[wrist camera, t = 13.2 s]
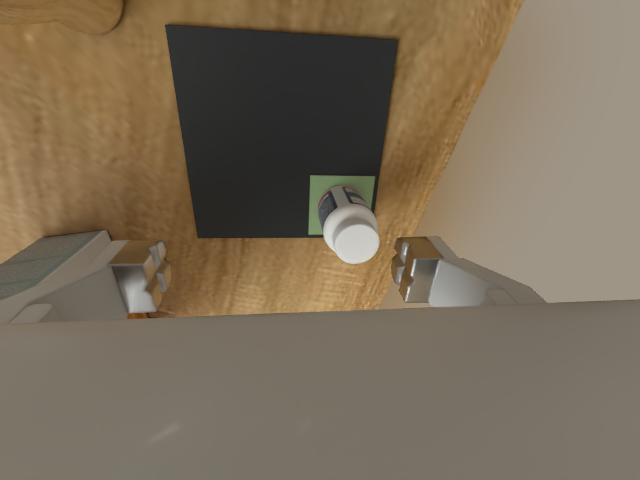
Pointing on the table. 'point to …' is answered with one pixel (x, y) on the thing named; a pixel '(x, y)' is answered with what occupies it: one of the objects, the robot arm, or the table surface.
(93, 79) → the table surface
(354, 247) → the pill bottle
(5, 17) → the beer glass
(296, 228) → the mat
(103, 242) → the hard drive box
